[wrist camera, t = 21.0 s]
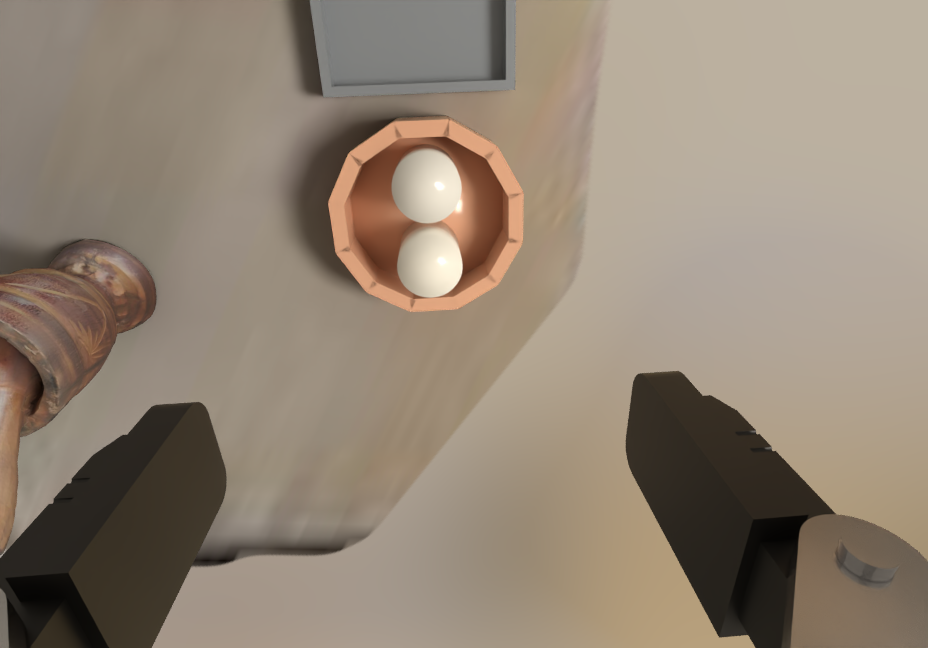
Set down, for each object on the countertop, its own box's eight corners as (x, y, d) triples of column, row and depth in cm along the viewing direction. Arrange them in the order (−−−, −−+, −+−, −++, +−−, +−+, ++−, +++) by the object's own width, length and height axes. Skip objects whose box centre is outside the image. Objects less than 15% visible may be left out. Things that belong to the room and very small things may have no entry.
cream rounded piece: (392, 145, 35) (388, 153, 31) (456, 142, 35) (460, 150, 31) (398, 209, 37) (394, 224, 33) (458, 206, 37) (462, 221, 33)
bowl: (327, 120, 35) (316, 124, 31) (514, 112, 35) (524, 115, 32) (352, 295, 40) (345, 315, 37) (513, 285, 41) (521, 305, 37)
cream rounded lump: (397, 220, 37) (393, 237, 33) (456, 216, 37) (460, 233, 33) (403, 276, 39) (400, 299, 35) (460, 272, 39) (464, 295, 35)
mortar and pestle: (222, 318, 40) (59, 505, 22) (156, 381, 42) (-43, 598, 24) (90, 210, 36) (-242, 333, 18) (23, 285, 38) (-336, 463, 20)
